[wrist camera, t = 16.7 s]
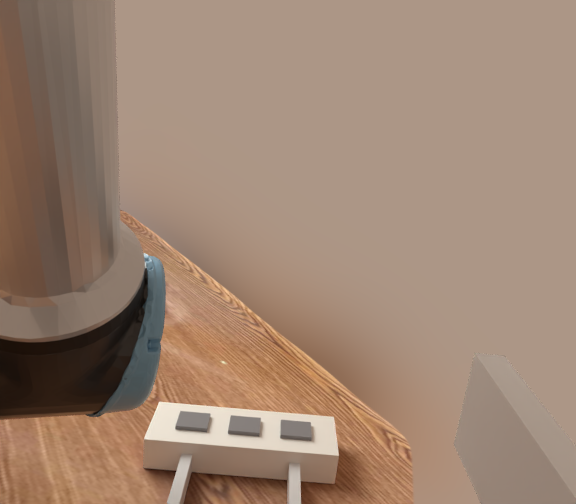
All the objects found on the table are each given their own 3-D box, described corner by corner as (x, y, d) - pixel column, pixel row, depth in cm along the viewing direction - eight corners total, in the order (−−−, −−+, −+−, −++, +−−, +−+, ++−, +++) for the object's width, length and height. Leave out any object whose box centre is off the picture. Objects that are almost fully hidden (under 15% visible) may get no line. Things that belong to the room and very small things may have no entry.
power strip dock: (108, 559, 40) (108, 521, 39) (158, 428, 55) (159, 398, 54) (345, 578, 40) (351, 541, 39) (330, 443, 56) (334, 413, 54)
